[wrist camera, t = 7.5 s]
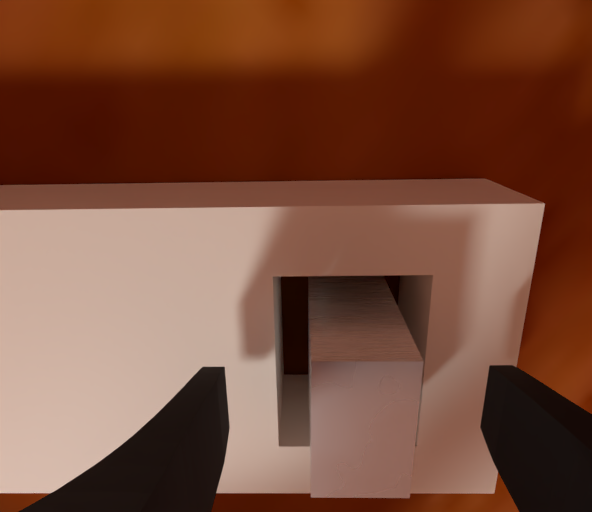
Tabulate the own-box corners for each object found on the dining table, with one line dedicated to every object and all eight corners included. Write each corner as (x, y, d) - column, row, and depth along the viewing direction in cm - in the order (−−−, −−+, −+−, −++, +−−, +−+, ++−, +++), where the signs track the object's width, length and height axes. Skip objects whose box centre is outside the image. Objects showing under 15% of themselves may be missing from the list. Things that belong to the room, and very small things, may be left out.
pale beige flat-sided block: (455, 413, 19) (494, 493, 15) (-54, 415, 19) (-142, 492, 15) (485, 178, 15) (545, 203, 11) (-132, 187, 16) (-269, 213, 12)
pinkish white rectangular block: (369, 350, 18) (409, 498, 11) (307, 350, 18) (310, 497, 11) (374, 257, 16) (423, 361, 10) (307, 257, 16) (311, 361, 10)
